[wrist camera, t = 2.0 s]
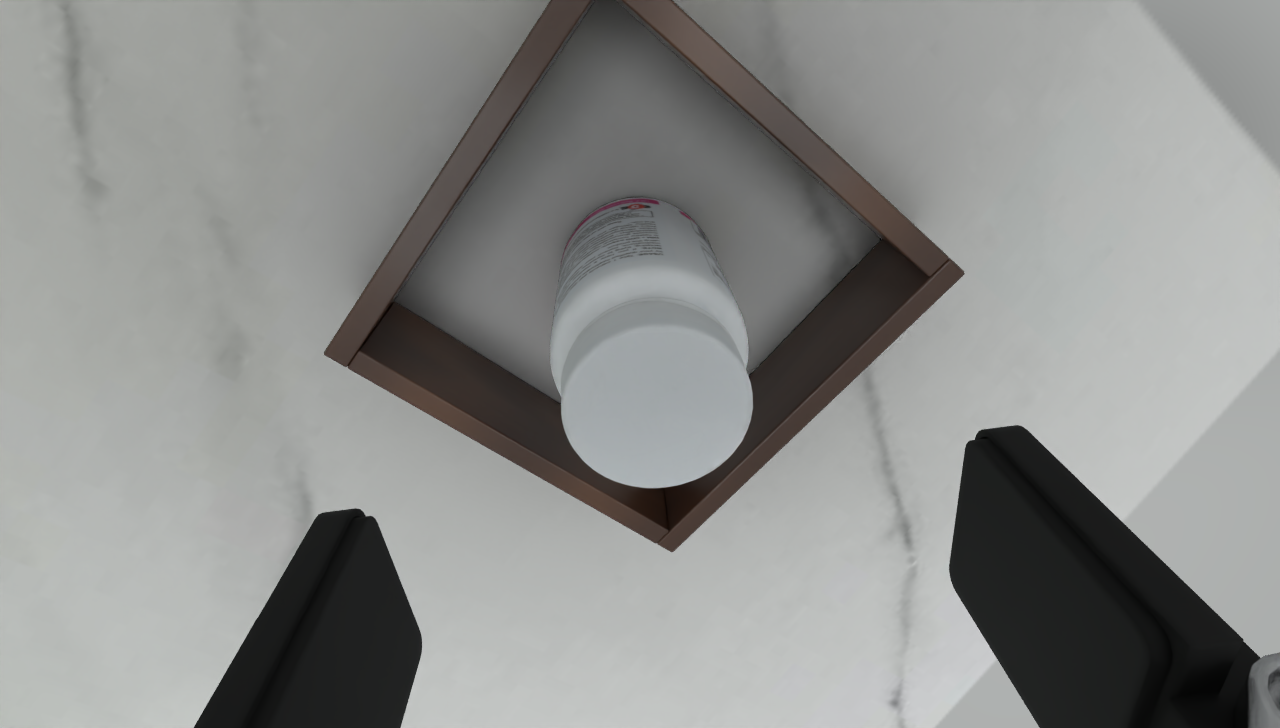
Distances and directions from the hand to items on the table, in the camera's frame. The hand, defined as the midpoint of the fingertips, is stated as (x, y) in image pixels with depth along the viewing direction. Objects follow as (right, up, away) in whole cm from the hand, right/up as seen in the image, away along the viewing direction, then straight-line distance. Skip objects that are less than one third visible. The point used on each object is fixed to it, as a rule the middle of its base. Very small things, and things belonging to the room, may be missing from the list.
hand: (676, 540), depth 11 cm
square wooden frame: (-1, +6, +10) cm, 12 cm away
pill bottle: (-1, +6, +10) cm, 12 cm away
